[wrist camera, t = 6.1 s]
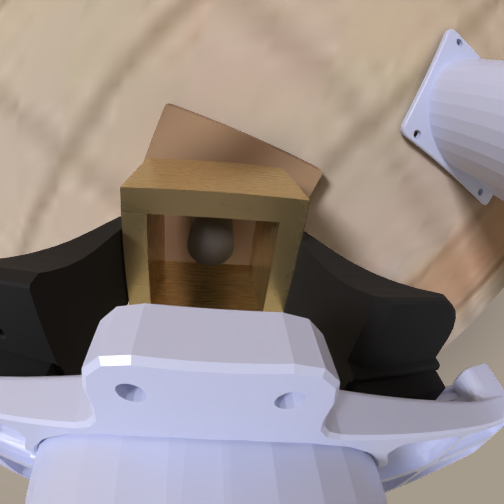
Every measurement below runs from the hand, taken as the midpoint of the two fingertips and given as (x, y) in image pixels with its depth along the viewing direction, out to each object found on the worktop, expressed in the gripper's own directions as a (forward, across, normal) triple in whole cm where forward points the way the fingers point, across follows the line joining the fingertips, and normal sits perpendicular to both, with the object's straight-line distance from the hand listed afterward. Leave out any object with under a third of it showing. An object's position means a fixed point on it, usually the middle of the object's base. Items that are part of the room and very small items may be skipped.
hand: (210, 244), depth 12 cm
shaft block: (+4, 0, 0) cm, 4 cm away
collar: (+2, 0, 0) cm, 2 cm away
